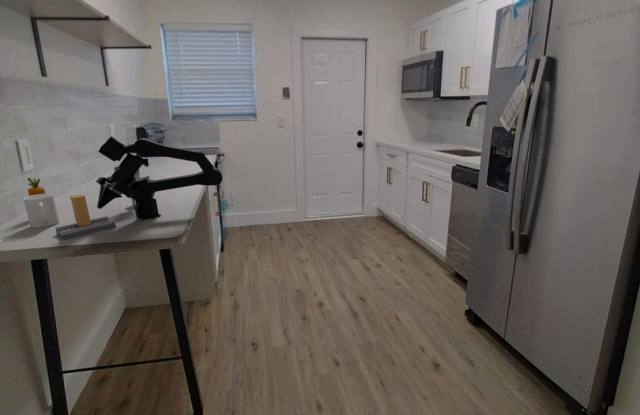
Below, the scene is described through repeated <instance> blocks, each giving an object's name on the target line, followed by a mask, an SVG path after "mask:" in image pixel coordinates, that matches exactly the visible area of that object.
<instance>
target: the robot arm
mask: <svg viewBox="0 0 640 415" xmlns="http://www.w3.org/2000/svg"><path fill="white" fill-rule="evenodd" d="M98 153H99V154H100V155H102V156H104V157H106V158H107V159H109V160H111V161H112V162H113V163H115V162H117V161H118V162H120V163H119V164H118V166H115V167H114V168H113V170H114V171H113V173H112V174H111V175H110V176H107V177H105V176H99V177H98V178H97V180H95V182H96V184H98V185H99V194H98V199H97V203H96V204H97V206H96V208H98V209H99V210H101V209H103V208H104V207H105V206H107V205H108V204H110V203H111V202H112V201H114V200H115V199H118V198H123V196H125V197H126V198H128V199H131V200H132V199H134V201H135V204H136V206H134V207H135V210H134V212H135V217H136V218H137V219H139V220H142V221H145V220H149V219H155V218H158V217H161V214H160V213H159V208H158V203H157V201H158V200H157V199H156V198H154V197H155V194H156V193H157V192H162V191H168V190H175V189H179V188H185V187H186V188H187V187H191V186H197V185H198V186H218V185H220V184H221V183H222V181H223V174H222V171H221V170H220V168H218V167H215V166H214V165H213V164H212V162H211V161H210V160H209V159H208V157H207V156H206V154H205V152H203V151H201V150H198V151H197V150H194V149H193V150H191V149H186V148H182V147H176V146H170V145H165V144H162V143H160V142H157V141H155V140H152V139H149V138H147V137H145V138H144V137H142V138H139V139H138V140H136V141H135V142H134V143H132V144H130V143H128V144H127V145H125V144H124V143H122V142H120V141H119V140H118V139H117V138H115V137H113V136H109V137H108V138H107V140H106V141H105V142H104V143H103V144H102V145H101V146H100V148H99V150H98ZM125 155H126V156H125ZM143 157H147V158H143ZM148 157H164V158H165V157H166V158H170V159H171V158H172V159H176V160H183V161H187V162H194V163H197V165H198V166H199V168H200V169H201V171H198V172H196V173H192V174H186V175H185V174H184V175H179V176H173V177H166V178H161V179H150V176H149V175H147V176H144V177H140V178H138V177H137V178H136V179H135V177H134V176H135V174H136V173H137V171H138V170H139V171H140V169H141V167H142V166H144V167H146V168H148V167H149V166H150V164H149V158H148ZM122 159H123V160H122ZM121 160H122V161H121Z"/></svg>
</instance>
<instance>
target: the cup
mask: <svg viewBox="0 0 640 415" xmlns="http://www.w3.org/2000/svg"><path fill="white" fill-rule="evenodd" d="M22 201H23V202H24V203H23V204H24V206H25V210H26V213H27V218H28V222H29V225H30V227H31V228H34V229H41V228H48V227H53V226H55V225H57V224H59V223H60V217H59V214H58V213H59V212H58V209H57V206H56V200H55V197H54V194H52V193H45V194H38V195H32V196H29V195H28V196H26V197H23V200H22Z"/></svg>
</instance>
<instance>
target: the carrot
mask: <svg viewBox="0 0 640 415" xmlns="http://www.w3.org/2000/svg"><path fill="white" fill-rule="evenodd" d="M27 181H28V182H30V183H27V185H29V186H31V187H29V188H27V194H28V196H32V195H38V194H46V190H45V188H44V187H42V186H39V184H40V181H41V178H37V179H36V178H33V179H32V178H31V177H27Z"/></svg>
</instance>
